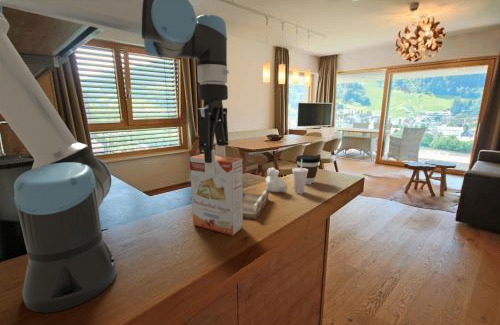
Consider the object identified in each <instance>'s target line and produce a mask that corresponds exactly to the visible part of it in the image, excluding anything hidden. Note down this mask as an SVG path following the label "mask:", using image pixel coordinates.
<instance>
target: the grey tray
mask: <svg viewBox="0 0 500 325" xmlns="http://www.w3.org/2000/svg"><path fill="white" fill-rule="evenodd" d="M269 194H270V191H269V190H268V188H267V187H266V188H265V189H264V190H263V191H262V193H261V194H258V193H257V194H256V193H249V192H248V193H247V192H243V219H249V220H257V219H258V217H260V214H261V212H262V210H263V209H264V208H265V206H266V204H267V202H268V201H269Z"/></svg>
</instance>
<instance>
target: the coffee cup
mask: <svg viewBox="0 0 500 325" xmlns="http://www.w3.org/2000/svg"><path fill="white" fill-rule="evenodd" d="M301 159H302V168H305V169H308V173H307V178H306V184H305V185H311V184H310V183H313V184H314V182H315V180H316V176H317V172H318V168H319V163H320V162H321V159H320V157H319V156H318V155H312V154H311V155H310V154H302V155H301V154H300V155H297V156H296V158H295V161H296V168H301Z"/></svg>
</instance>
